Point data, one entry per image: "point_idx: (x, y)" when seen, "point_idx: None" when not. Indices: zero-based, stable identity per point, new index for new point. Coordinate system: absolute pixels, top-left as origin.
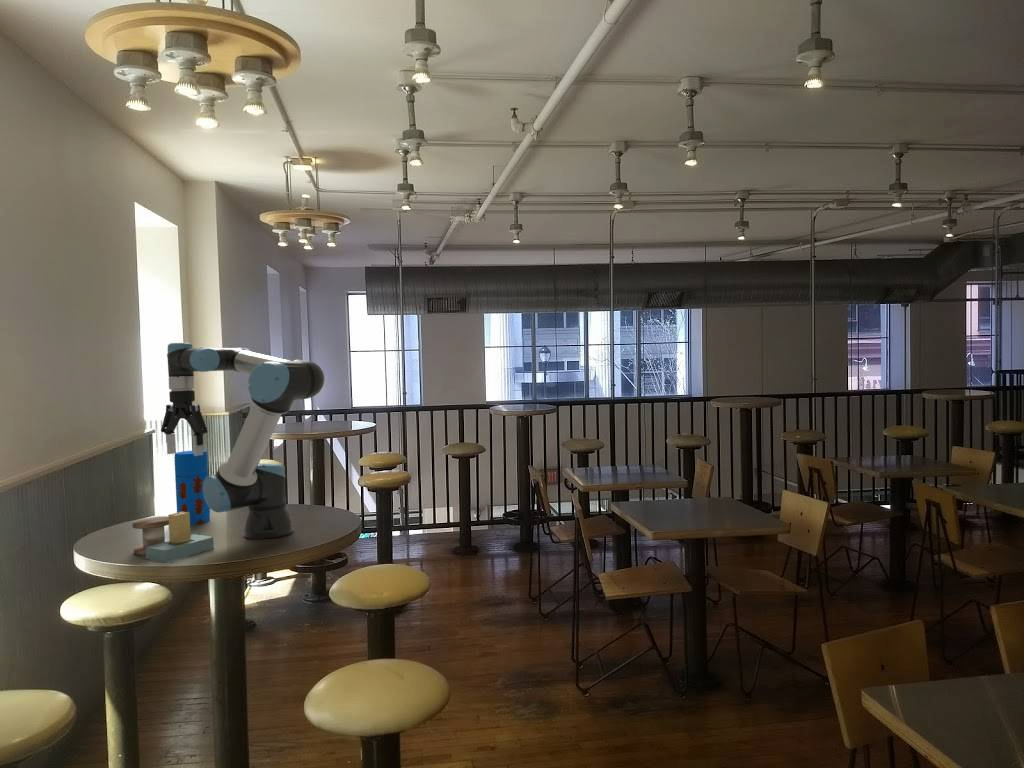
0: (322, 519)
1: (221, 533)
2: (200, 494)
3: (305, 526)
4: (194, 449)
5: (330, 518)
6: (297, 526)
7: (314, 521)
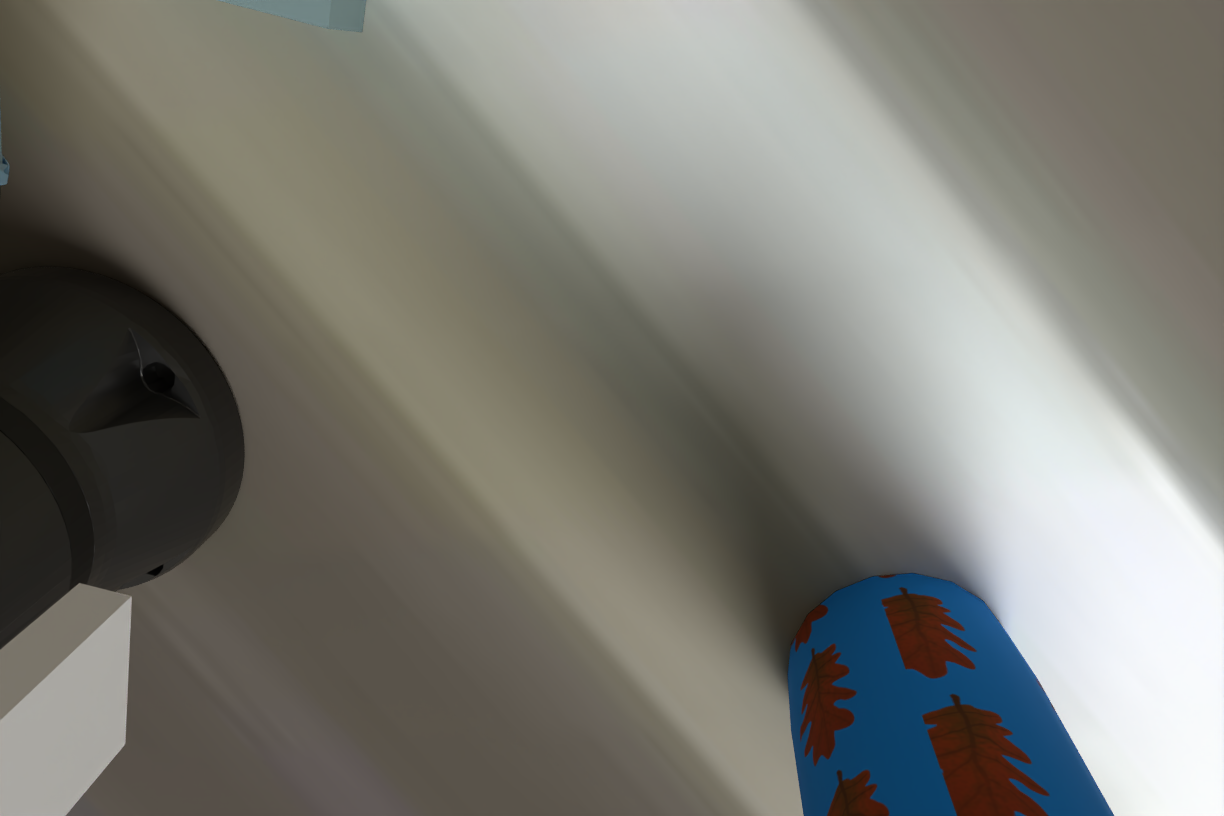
0: None
1: (427, 387)
2: (826, 788)
3: None
4: (7, 687)
5: None
6: None
7: None
